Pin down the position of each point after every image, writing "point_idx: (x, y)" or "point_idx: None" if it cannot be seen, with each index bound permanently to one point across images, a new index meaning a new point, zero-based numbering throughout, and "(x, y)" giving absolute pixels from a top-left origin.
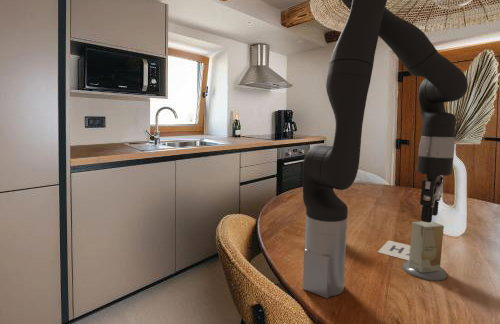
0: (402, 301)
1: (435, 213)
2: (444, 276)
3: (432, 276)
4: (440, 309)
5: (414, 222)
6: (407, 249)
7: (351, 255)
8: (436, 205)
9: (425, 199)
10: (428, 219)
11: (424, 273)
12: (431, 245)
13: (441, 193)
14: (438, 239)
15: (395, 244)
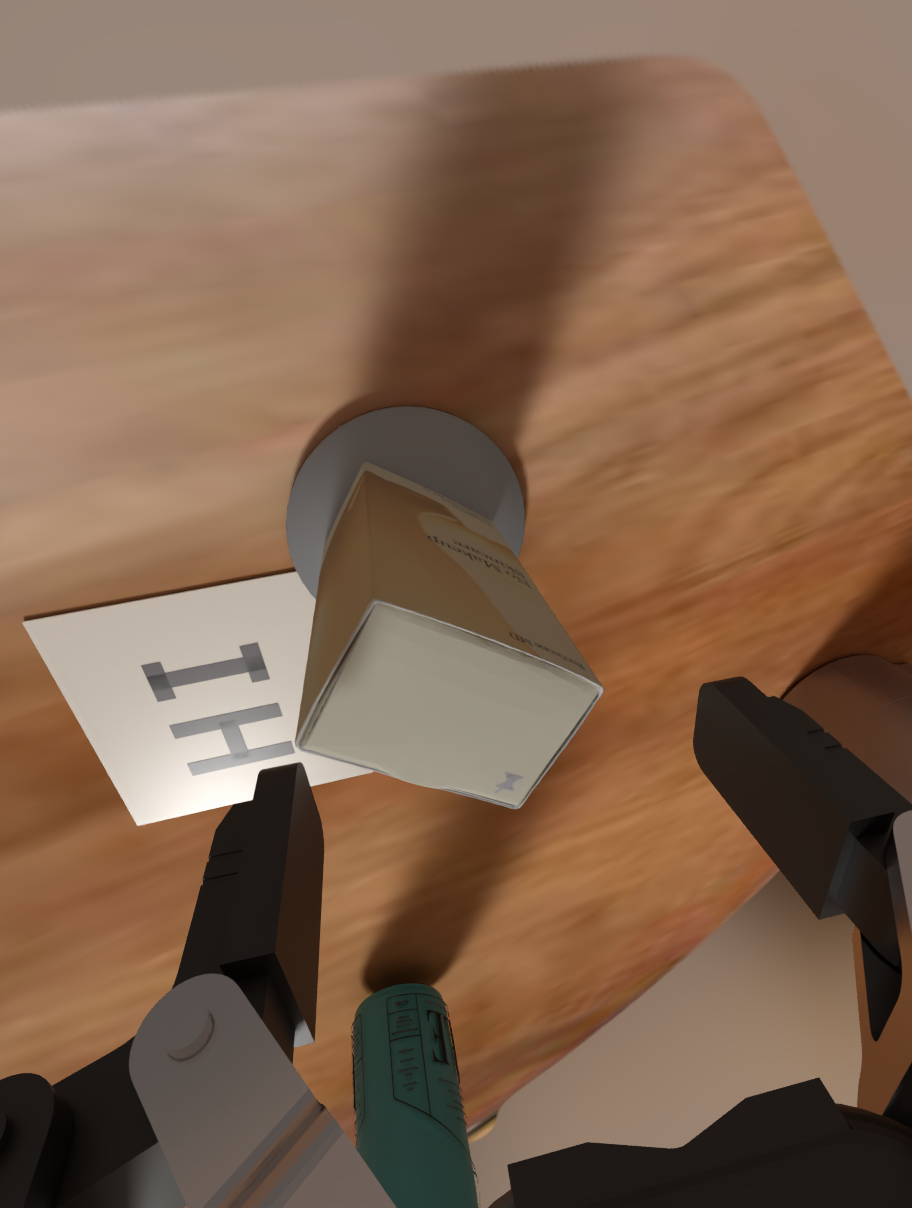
0: (795, 480)
1: (299, 790)
2: (423, 414)
3: (481, 465)
4: (778, 328)
5: (522, 796)
6: (173, 707)
7: None
8: (288, 900)
9: (872, 1031)
10: (788, 710)
11: (474, 510)
12: (481, 564)
13: (334, 1203)
14: (421, 556)
15: (163, 777)
